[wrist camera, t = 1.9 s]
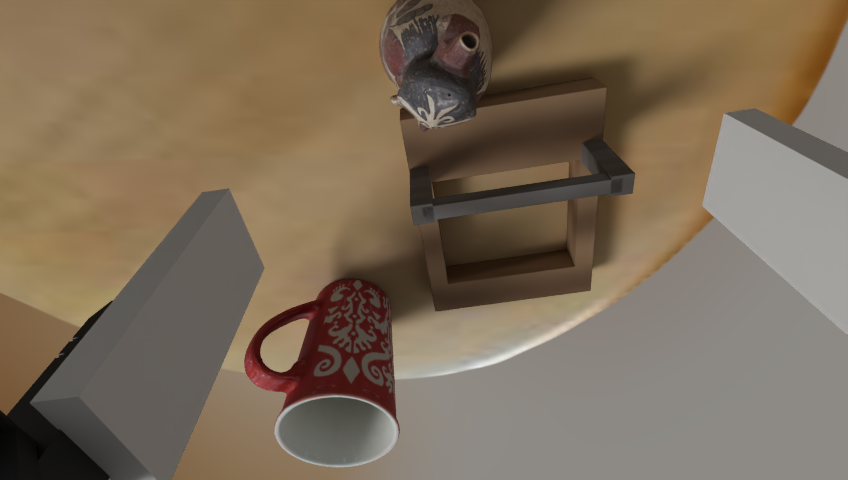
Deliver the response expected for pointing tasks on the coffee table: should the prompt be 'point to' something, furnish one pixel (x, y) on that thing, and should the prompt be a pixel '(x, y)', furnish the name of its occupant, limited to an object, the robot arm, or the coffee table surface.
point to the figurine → (437, 59)
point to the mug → (335, 378)
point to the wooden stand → (516, 187)
